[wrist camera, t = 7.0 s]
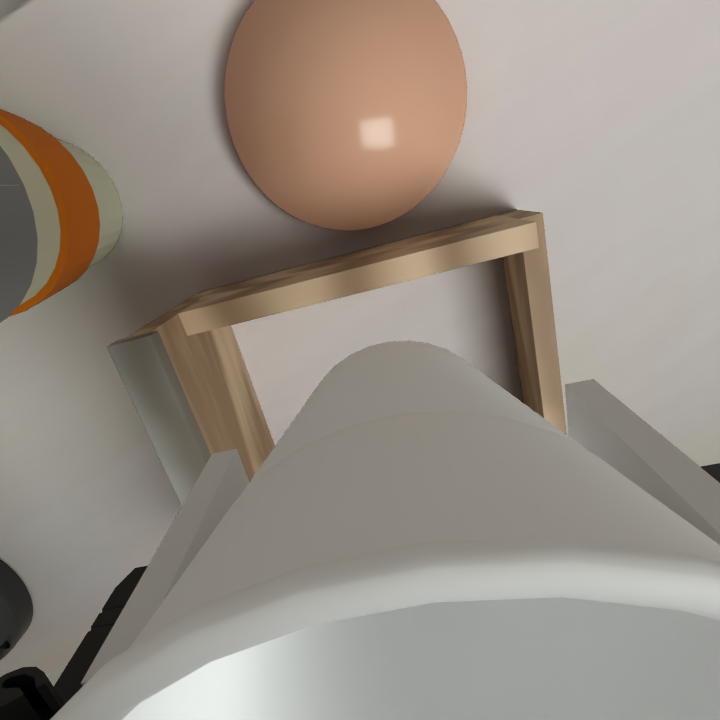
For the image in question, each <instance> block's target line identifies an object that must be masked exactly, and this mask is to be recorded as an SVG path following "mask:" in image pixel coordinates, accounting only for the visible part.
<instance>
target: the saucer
mask: <svg viewBox="0 0 720 720" xmlns="http://www.w3.org/2000/svg"><path fill="white" fill-rule="evenodd" d="M224 89H225V108H226V116H227V122H228V126H229V130H230V134H231V138H232V141H233V143H234V146H235V148H236V151H237V154H238V156H239V158H240V160H241V161H242V163H243V165H244V167H245V169H246V171H247V172H248V174H249V175H250V177H251V178H252V179H253V181H254V182H255V184H256V185H257V186H258V187H259V188H260V189H261V191H262V192H263V193H264V194H265V195H266V196H267V197H268V198H269V199H270V200H272V201H273V202H274V203H275V204H276V205H277V206H279V207H280V208H281V209H283V210H284V211H286V212H287V213H289V214H290V215H292V216H294V217H296V218H298V219H300V220H302V221H304V222H307V223H309V224H312V225H315V226H318V227H323V228H327V229H333V230H345V231H346V230H361V229H367V228H372V227H376V226H379V225H382V224H385V223H388V222H390V221H392V220H394V219H396V218H398V217H400V216H402V215H403V214H405V213H406V212H408V211H409V210H411V209H412V208H414V207H415V206H416V205H417V204H419V203H420V202H421V201H422V200H423V199H424V198H425V197H426V196H427V195H428V194H429V193H430V192H431V191H432V190H433V189H434V187H435V186H436V185H437V184H438V182H439V181H440V179H441V178H442V177H443V175H444V174H445V172H446V170H447V169H448V167H449V165H450V163H451V161H452V159H453V157H454V155H455V152H456V150H457V147H458V144H459V142H460V138H461V135H462V131H463V127H464V122H465V115H466V108H467V83H466V72H465V66H464V62H463V57H462V52H461V49H460V46H459V43H458V40H457V38H456V35H455V33H454V31H453V29H452V26H451V24H450V22H449V20H448V18H447V17H446V15H445V14H444V12H443V11H442V9H441V8H440V6H439V5H438V3H437V2H436V1H435V0H254V2H253V3H252V5H251V6H250V7H249V9H248V10H247V12H246V13H245V15H244V17H243V19H242V21H241V23H240V25H239V27H238V29H237V31H236V33H235V36H234V39H233V42H232V45H231V48H230V51H229V56H228V61H227V65H226V74H225V84H224Z"/></svg>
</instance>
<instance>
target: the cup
mask: <svg viewBox="0 0 720 720" xmlns="http://www.w3.org/2000/svg"><path fill="white" fill-rule="evenodd" d="M50 720H720V545H719V544H718V543H716V542H715V541H713V540H712V539H711V538H709V537H708V536H707V535H705V534H704V533H702V532H701V531H700V530H698V529H697V528H695V527H694V526H693V525H691V524H690V523H689V522H687V521H686V520H684V519H683V518H682V517H680V516H679V515H678V514H676V513H675V512H673V511H672V510H671V509H669V508H668V507H667V506H665V505H664V504H662V503H661V502H660V501H658V500H657V499H656V498H654V497H653V496H651V495H650V494H649V493H647V492H646V491H644V490H643V489H642V488H640V487H639V486H638V485H636V484H635V483H633V482H632V481H631V480H629V479H628V478H627V477H625V476H624V475H622V474H621V473H620V472H618V471H617V470H616V469H614V468H613V467H611V466H610V465H609V464H607V463H606V462H605V461H603V460H602V459H600V458H599V457H598V456H596V455H594V454H592V453H591V452H589V451H587V450H586V449H585V448H584V447H583V446H581V445H580V444H579V443H577V442H575V441H574V440H572V439H571V438H570V437H569V436H567V435H566V434H565V433H564V432H562V431H560V430H559V429H557V428H556V427H555V426H554V425H553V424H552V423H550V422H548V421H547V420H545V419H544V418H543V417H541V416H540V415H539V414H538V413H536V412H534V411H533V410H532V409H530V408H529V407H528V406H527V405H525V404H523V403H522V402H521V401H520V400H519V399H517V398H516V397H514V396H512V395H511V394H510V393H509V392H508V391H506V390H504V389H503V388H502V387H501V386H499V385H498V384H496V383H495V382H494V381H493V380H491V379H489V378H488V377H487V376H486V375H485V374H483V373H482V372H481V371H479V370H478V369H476V368H475V367H474V366H472V365H471V364H470V363H468V362H467V361H465V360H464V359H462V358H461V357H459V356H457V355H456V354H454V353H452V352H450V351H449V350H447V349H444V348H441V347H438V346H435V345H432V344H429V343H422V342H415V341H394V342H385V343H381V344H377V345H373V346H369V347H367V348H364V349H362V350H360V351H358V352H356V353H354V354H351V355H350V356H348V357H347V358H345V359H344V360H343V361H341V362H340V363H338V364H337V365H336V366H334V368H333V369H332V370H331V371H330V372H329V373H328V374H327V375H326V376H325V377H324V378H323V379H322V381H321V382H320V383H319V385H318V386H317V388H316V389H315V390H314V392H313V393H312V395H311V396H310V397H309V399H308V400H307V402H306V403H305V405H304V406H303V407H302V409H301V411H300V412H299V413H298V414H297V416H296V418H295V419H294V421H293V422H292V423H291V424H290V426H289V428H288V429H287V430H286V431H285V433H284V435H283V436H282V438H281V439H280V440H279V441H278V443H277V444H276V446H275V447H274V448H273V450H272V451H271V452H270V454H269V456H268V457H267V459H266V460H265V461H264V462H263V464H262V465H261V467H260V469H259V470H258V471H257V472H256V473H255V475H254V476H253V478H252V480H251V481H250V483H249V484H248V485H247V486H246V487H245V489H244V490H243V492H242V494H241V495H240V497H239V498H238V499H237V500H236V501H235V502H234V503H233V505H232V506H231V507H230V509H229V510H228V512H227V513H226V514H225V516H224V517H223V519H222V520H221V521H220V523H219V524H218V525H217V527H216V528H215V530H214V531H213V532H212V534H211V535H210V537H209V538H208V539H207V541H206V542H205V544H204V545H203V546H202V548H201V549H200V551H199V552H198V553H197V555H196V556H195V558H194V559H193V560H192V562H191V563H190V564H189V566H188V567H187V569H186V570H185V571H184V573H183V574H182V576H181V577H180V578H179V580H178V581H177V583H176V584H175V585H174V587H173V588H172V590H171V591H170V592H169V594H168V595H167V596H166V598H165V599H164V601H163V602H162V603H161V605H160V606H159V608H158V609H157V610H156V612H155V613H154V615H153V616H152V617H151V619H150V620H149V622H148V623H147V624H146V626H145V627H144V628H143V630H142V631H141V633H140V634H139V635H138V637H137V638H136V640H135V641H134V642H133V644H132V645H131V647H130V648H129V649H127V650H125V651H124V652H122V653H120V654H119V655H117V656H116V657H114V658H112V659H111V660H110V661H109V662H108V663H106V664H105V665H104V666H103V667H102V668H100V669H99V670H98V671H97V672H96V673H95V674H94V675H93V677H92V678H91V679H90V680H89V681H88V682H87V683H86V684H85V685H84V686H83V687H82V688H81V689H80V690H79V691H78V692H77V693H76V694H75V695H74V696H73V697H72V698H71V699H70V700H69V701H68V702H67V703H66V704H65V705H64V706H63V707H62V708H61V709H60V710H59V711H58V712H57V713H56V714H55V715H54V716H53V717H52V718H51V719H50Z"/></svg>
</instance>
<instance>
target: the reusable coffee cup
mask: <svg viewBox="0 0 720 720" xmlns="http://www.w3.org/2000/svg"><path fill="white" fill-rule="evenodd" d="M122 220H123V216H122V206H121V202H120V198H119V195H118V192H117V190H116V188H115V186H114V184H113V181H112V180H111V178H110V177H109V175H108V174H107V173H106V171H105V170H104V168H103V167H102V166H101V165H100V164H99V163H98V162H97V161H96V160H95V159H94V158H92V157H91V156H90V155H88V154H87V153H86V152H84V151H83V150H81V149H79V148H77V147H75V146H73V145H71V144H69V143H66V142H63V141H61V140H58V139H56V138H54V137H53V136H52V135H50V134H49V133H48V132H46V131H45V130H44V129H42V128H41V127H39V126H37V125H35V124H33V123H31V122H29V121H27V120H25V119H23V118H21V117H19V116H16V115H14V114H11V113H9V112H6V111H4V110H1V109H0V322H2V321H3V320H5V319H6V318H8V317H9V316H12V315H15V314H18V313H20V312H23V311H26V310H28V309H29V308H31V307H33V306H35V305H36V304H38V303H40V302H42V301H43V300H45V299H47V298H48V297H50V296H52V295H54V294H55V293H57V292H59V291H60V290H62V289H64V288H65V287H67V286H69V285H70V284H72V283H73V282H75V281H77V280H78V279H79V277H80V276H81V275H82V274H83V273H84V272H85V271H86V270H87V269H88V267H90V266H91V265H93V264H95V263H97V262H98V261H100V260H102V259H103V258H105V257H106V256H107V255H108V254H109V253H110V252H111V251H112V250H113V248H114V246H115V245H116V243H117V241H118V239H119V236H120V233H121V230H122Z"/></svg>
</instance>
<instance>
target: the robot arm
mask: <svg viewBox="0 0 720 720" xmlns="http://www.w3.org/2000/svg"><path fill="white" fill-rule="evenodd" d="M565 391H566V405H567V419H568V432H569V437H570V438H571V439H572V440H574V441H575V442H577V443H579V444H580V445H581V446H583V447H584V448H585V449H586V450H587V451H589V452H591V453H592V454H594V455H596V456H598V457H599V458H600V459H602V460H603V461H605V462H606V463H607V464H609V465H610V466H611V467H613V468H614V469H616V470H617V471H618V472H620V473H621V474H622V475H624V476H625V477H627V478H628V479H629V480H631V481H632V482H633V483H635V484H636V485H638V486H639V487H640V488H642V489H643V490H644V491H646V492H647V493H649V494H650V495H651V496H653V497H654V498H656V499H657V500H658V501H660V502H661V503H662V504H664V505H665V506H667V507H668V508H669V509H671V510H672V511H673V512H675V513H676V514H678V515H679V516H680V517H682V518H683V519H684V520H686V521H687V522H689V523H690V524H691V525H693V526H694V527H695V528H697V529H698V530H700V531H701V532H702V533H704V534H705V535H707V536H708V537H709V538H711V539H712V540H713V541H715V542H716V543H718V544H719V545H720V463H719V464H713V465H707V466H702V467H700V466H698V465H697V464H696V463H695V462H694V461H692V460H691V459H690V458H689V457H688V456H686V455H685V454H684V453H683V452H681V451H680V450H679V449H678V448H677V447H675V446H674V445H673V444H672V443H670V442H669V441H668V440H667V439H666V438H664V437H663V436H662V435H661V434H660V433H658V432H657V431H656V430H655V429H653V428H652V427H651V426H650V425H649V424H647V423H646V422H645V421H644V420H642V419H641V418H640V417H639V416H638V415H636V414H635V413H634V412H633V411H632V410H630V409H629V408H628V407H627V406H625V405H624V404H623V403H622V402H621V401H619V400H618V399H617V398H616V397H614V396H613V395H612V394H611V393H610V392H608V391H607V390H606V389H605V388H604V387H602V386H601V385H600V384H599V383H597V382H596V381H595V380H594V379H591V380H586V381H581V382H576V383H571V384H566V385H565ZM248 484H249V480H248V477H247V475H246V472H245V469H244V467H243V464H242V461H241V458H240V456H239V453H238V450H237V449H234V450H229V451H224V452H219V453H214V454H212V455H211V457H210V459H209V460H208V462H207V464H206V465H205V467H204V469H203V471H202V472H201V474H200V476H199V478H198V479H197V481H196V483H195V485H194V486H193V488H192V490H191V492H190V493H189V495H188V497H187V499H186V500H185V502H184V504H183V506H182V507H181V509H180V511H179V513H178V514H177V516H176V518H175V520H174V521H173V523H172V525H171V527H170V528H169V530H168V532H167V533H166V535H165V537H164V539H163V540H162V542H161V544H160V546H159V547H158V549H157V551H156V553H155V554H154V556H153V558H152V560H151V561H150V563H149V565H148V566H144V567H138V568H135V569H134V570H133V571H132V572H131V573H130V574H129V575H128V576H127V577H126V578H125V579H124V580H123V581H122V582H121V583H120V584H119V585H118V586H117V587H116V588H115V589H114V591H113V593H112V594H111V596H110V597H109V599H108V601H107V602H106V604H105V605H104V607H103V609H102V610H103V611H102V613H99V615H98V617H97V618H96V620H95V621H94V623H93V625H92V626H91V631H89V632H88V633H87V634H86V636H85V637H84V639H83V641H82V642H81V644H80V645H79V647H78V649H77V650H76V652H75V653H74V655H73V657H72V658H71V660H70V662H69V663H68V665H67V666H66V668H65V670H64V671H63V673H62V674H61V676H60V678H59V679H58V681H57V682H56V684H55V686H54V687H53V685H52V684H51V682H50V681H49V679H48V678H47V676H46V675H45V673H44V672H43V671H41V670H40V669H38V668H37V667H22V668H20V669H17V670H15V671H12V672H10V673H7V674H5V675H3V676H2V677H0V720H50V719H51V718H52V717H53V716H54V715H55V714H56V713H57V712H58V711H59V710H60V709H61V708H62V707H63V706H64V705H65V704H66V703H67V702H68V701H69V700H70V699H71V698H72V697H73V696H74V695H75V694H76V693H77V692H78V691H79V690H80V689H81V688H82V687H83V686H84V685H85V684H86V683H87V682H88V681H89V680H90V679H91V678H92V677H93V675H94V674H95V673H96V672H97V671H98V670H99V669H100V668H102V667H103V666H104V665H105V664H106V663H108V662H109V661H110V660H111V659H112V658H114V657H116V656H117V655H119V654H120V653H122V652H124V651H125V650H127V649H129V648H130V647H131V645H132V644H133V642H134V641H135V640H136V638H137V637H138V635H139V634H140V633H141V631H142V630H143V628H144V627H145V626H146V624H147V623H148V622H149V620H150V619H151V617H152V616H153V615H154V613H155V612H156V610H157V609H158V608H159V606H160V605H161V603H162V602H163V601H164V599H165V598H166V596H167V595H168V594H169V592H170V591H171V590H172V588H173V587H174V585H175V584H176V583H177V581H178V580H179V578H180V577H181V576H182V574H183V573H184V571H185V570H186V569H187V567H188V566H189V564H190V563H191V562H192V560H193V559H194V558H195V556H196V555H197V553H198V552H199V551H200V549H201V548H202V546H203V545H204V544H205V542H206V541H207V539H208V538H209V537H210V535H211V534H212V532H213V531H214V530H215V528H216V527H217V525H218V524H219V523H220V521H221V520H222V519H223V517H224V516H225V514H226V513H227V512H228V510H229V509H230V507H231V506H232V505H233V503H234V502H235V501H236V500H237V499H238V498H239V497H240V495H241V494H242V492H243V490H244V489H245V487H246V486H247V485H248ZM32 615H33V606H32V601H31V598H30V595H29V592H28V590H27V588H26V587H25V585H24V583H23V582H22V581H21V579H20V578H19V577H18V576H17V575H16V574H15V572H14V571H13V570H11V569H10V568H9V567H8V566H7V565H6V564H4V563H3V562H2V561H0V660H1V659H2V658H4V657H5V656H6V655H7V654H8V653H9V652H10V651H11V650H12V649H13V648H14V646H15V645H16V644H17V642H18V641H19V640H20V638H21V637H22V636H23V635H24V633H25V632H26V631H27V629H28V627H29V626H30V623H31V620H32Z"/></svg>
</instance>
